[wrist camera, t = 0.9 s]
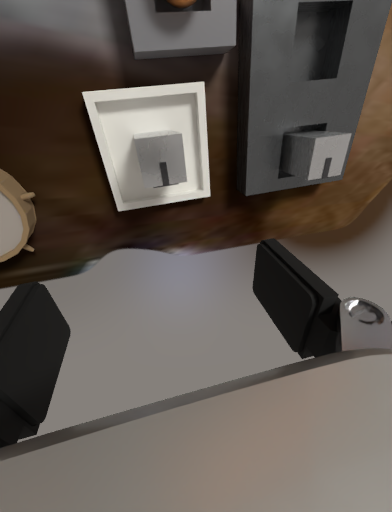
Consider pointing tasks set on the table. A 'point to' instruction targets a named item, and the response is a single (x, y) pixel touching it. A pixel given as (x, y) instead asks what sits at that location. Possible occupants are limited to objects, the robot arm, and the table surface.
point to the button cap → (181, 3)
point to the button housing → (181, 28)
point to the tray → (149, 120)
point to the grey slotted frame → (300, 78)
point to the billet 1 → (161, 158)
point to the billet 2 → (313, 153)
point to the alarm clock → (14, 217)
